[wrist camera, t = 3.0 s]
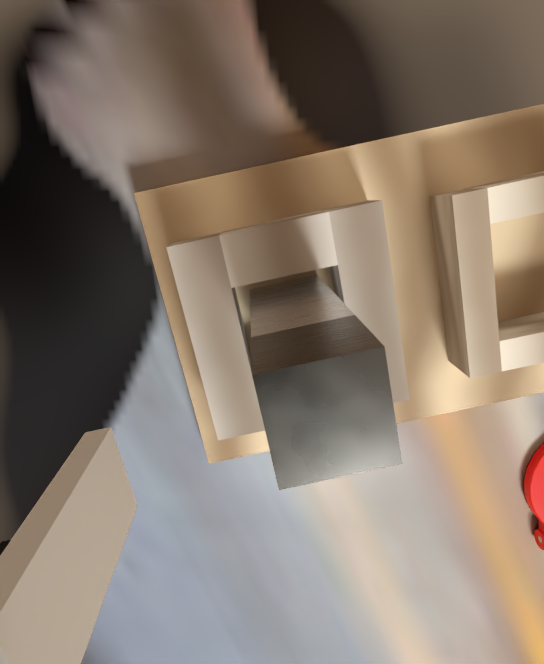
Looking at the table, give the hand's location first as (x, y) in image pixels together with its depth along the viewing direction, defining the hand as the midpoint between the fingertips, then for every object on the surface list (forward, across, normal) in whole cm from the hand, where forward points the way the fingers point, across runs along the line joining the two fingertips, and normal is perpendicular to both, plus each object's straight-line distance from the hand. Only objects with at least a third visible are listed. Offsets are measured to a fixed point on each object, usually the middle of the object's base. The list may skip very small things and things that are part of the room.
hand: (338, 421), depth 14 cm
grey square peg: (+15, 0, 0) cm, 15 cm away
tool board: (+16, +7, 0) cm, 18 cm away
